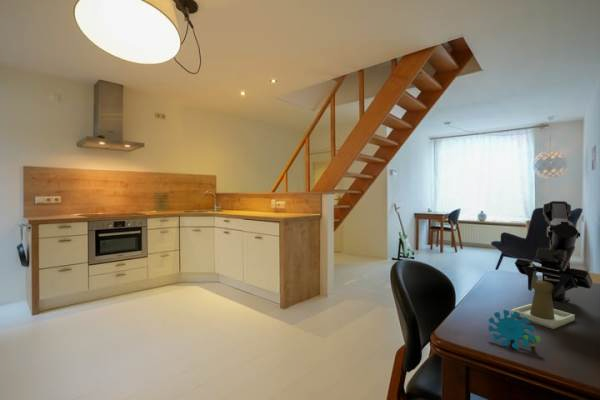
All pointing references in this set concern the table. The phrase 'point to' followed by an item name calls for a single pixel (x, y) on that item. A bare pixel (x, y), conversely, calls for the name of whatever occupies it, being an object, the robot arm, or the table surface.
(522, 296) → the table surface
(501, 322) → the gear
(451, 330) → the table surface
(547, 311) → the cork
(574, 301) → the table surface
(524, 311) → the tray
